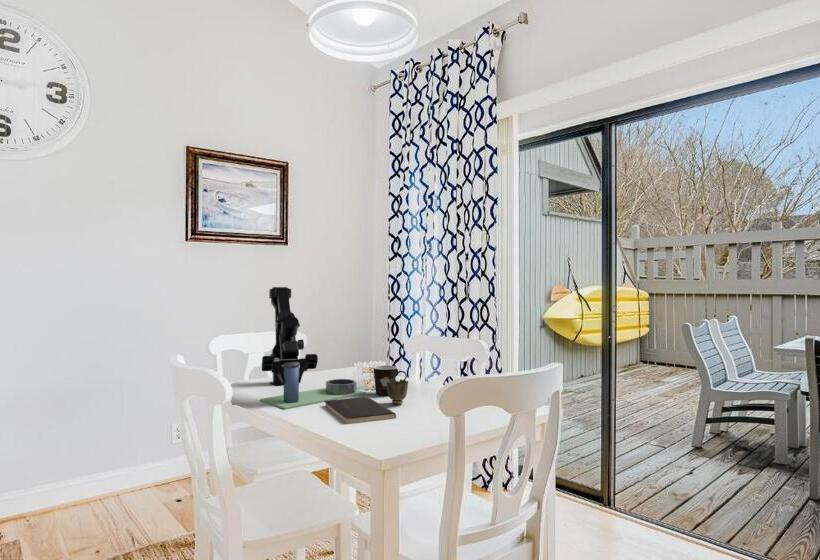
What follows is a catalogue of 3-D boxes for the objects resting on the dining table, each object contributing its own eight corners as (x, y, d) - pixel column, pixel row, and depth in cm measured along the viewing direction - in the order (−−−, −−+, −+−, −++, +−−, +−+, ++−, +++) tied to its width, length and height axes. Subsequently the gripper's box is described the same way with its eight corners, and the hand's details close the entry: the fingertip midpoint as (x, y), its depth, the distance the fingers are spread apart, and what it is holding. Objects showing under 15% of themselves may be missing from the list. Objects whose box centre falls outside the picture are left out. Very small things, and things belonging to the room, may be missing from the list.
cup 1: (320, 391, 194) (320, 381, 194) (343, 386, 202) (343, 377, 202) (338, 396, 186) (338, 386, 186) (362, 391, 194) (362, 382, 194)
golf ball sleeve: (280, 401, 177) (280, 363, 177) (293, 398, 181) (294, 361, 181) (288, 404, 174) (289, 365, 174) (301, 401, 177) (302, 363, 177)
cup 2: (409, 401, 182) (409, 378, 181) (406, 407, 174) (407, 383, 174) (387, 401, 182) (388, 378, 182) (384, 406, 175) (385, 382, 175)
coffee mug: (369, 395, 190) (369, 368, 190) (379, 391, 198) (379, 364, 198) (398, 399, 185) (398, 371, 185) (407, 394, 193) (407, 367, 193)
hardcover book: (346, 425, 154) (346, 418, 154) (324, 407, 174) (324, 400, 174) (396, 419, 161) (396, 412, 161) (368, 403, 181) (368, 396, 181)
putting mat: (260, 400, 180) (260, 398, 180) (339, 386, 204) (339, 385, 204) (285, 409, 169) (285, 407, 169) (365, 393, 193) (365, 392, 193)
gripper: (262, 332, 178) (264, 370, 168) (317, 331, 184) (322, 367, 174) (260, 352, 185) (262, 389, 175) (313, 350, 192) (318, 386, 181)
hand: (291, 382), depth 176 cm, fingers closed on golf ball sleeve, 5 cm apart
